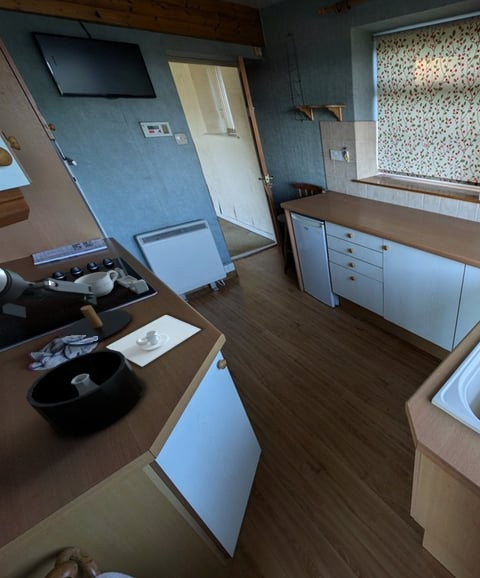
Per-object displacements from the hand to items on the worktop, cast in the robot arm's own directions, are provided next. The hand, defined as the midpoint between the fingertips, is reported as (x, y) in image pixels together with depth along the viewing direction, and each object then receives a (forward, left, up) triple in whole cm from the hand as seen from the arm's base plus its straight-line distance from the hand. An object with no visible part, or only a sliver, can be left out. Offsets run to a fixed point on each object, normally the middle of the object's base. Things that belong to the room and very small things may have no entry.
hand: (60, 306), depth 74 cm
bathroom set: (-29, +54, -25) cm, 66 cm away
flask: (+6, -11, -25) cm, 28 cm away
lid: (-19, +22, -24) cm, 38 cm away
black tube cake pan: (+6, -11, -25) cm, 28 cm away
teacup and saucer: (+4, +16, -25) cm, 30 cm away
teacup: (-35, +47, -25) cm, 64 cm away
